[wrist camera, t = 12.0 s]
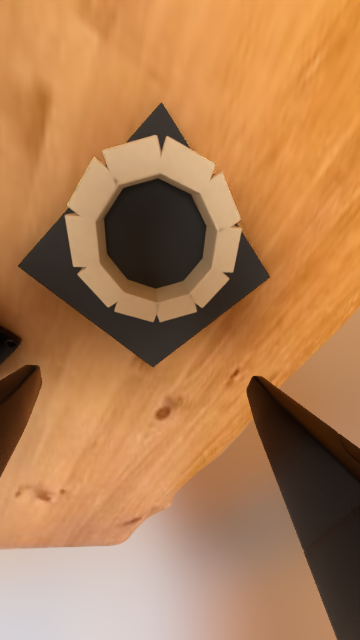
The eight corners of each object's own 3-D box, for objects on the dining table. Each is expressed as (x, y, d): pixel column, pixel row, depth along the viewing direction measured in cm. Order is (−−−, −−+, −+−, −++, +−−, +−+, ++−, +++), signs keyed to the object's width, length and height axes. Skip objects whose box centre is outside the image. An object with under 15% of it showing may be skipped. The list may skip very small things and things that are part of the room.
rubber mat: (152, 364, 19) (152, 367, 19) (20, 264, 13) (17, 266, 13) (267, 275, 16) (270, 277, 16) (161, 104, 11) (161, 101, 10)
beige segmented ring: (142, 326, 16) (142, 345, 14) (42, 212, 12) (21, 214, 10) (246, 261, 15) (263, 271, 13) (178, 104, 10) (186, 81, 8)
